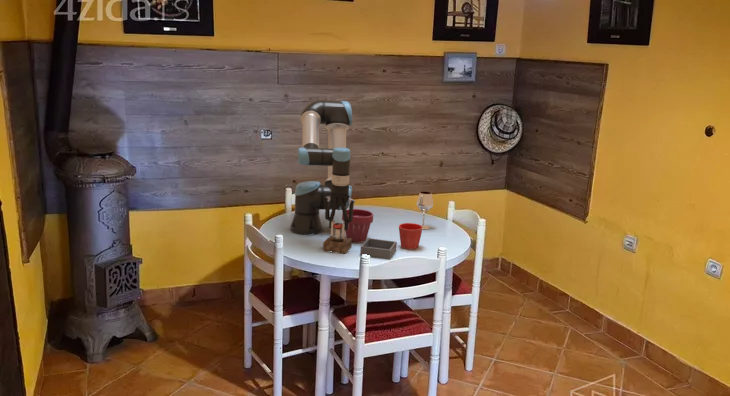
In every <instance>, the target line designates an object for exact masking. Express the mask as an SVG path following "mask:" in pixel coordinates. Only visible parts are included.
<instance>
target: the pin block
mask: <svg viewBox="0 0 730 396" xmlns="http://www.w3.org/2000/svg"><path fill="white" fill-rule="evenodd" d="M334 241H335V235H334V236H333V237H332V236H331V235H329V237H328V238H326V239H325V240H324V241H323V244H322V245H323V247H322V251H323V250H324V251H323V252H327V251H332V252H331V253H335V252H337V253H336V254H342V253H343V255H345V254H347V253H348V250H350V249H351V248H352V245H353V242H352V238H346V237H344V238H341V242H334Z"/></svg>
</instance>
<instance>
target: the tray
mask: <svg viewBox="0 0 730 396" xmlns="http://www.w3.org/2000/svg"><path fill="white" fill-rule="evenodd" d="M397 244H398V243H397V241H394V240H386V239H378V238H371V237H367V238H366V240H365V241H363V243H362V244H361V246H360V253H359V254H360V255H362V254H367V255H370V256H371V257H370V258H375V259H382V260H391V259H392V257H393V255H394V254H395V253H396V251H397Z"/></svg>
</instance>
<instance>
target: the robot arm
mask: <svg viewBox="0 0 730 396" xmlns="http://www.w3.org/2000/svg"><path fill="white" fill-rule="evenodd" d="M300 123H301V125H302V140H301V141H302V143H301V144H302V145H301V146H302V147H299V148H298V151H297V163H298V165H302V166H325V167H327V179H325V181H324V184H321V182H320V181H319V180H317V181H315V180H310V181H308V180H307V181H302V182H299V183H297V184H296V186H295V192H294V196H295V197H294V215H293V218H292V221H291V223H290V231H291V232H292V233H295V234H297V235H316V234H320V233H322V232H323V224H322V220H321V216H320V210H322V211H323V210H324V215H325V216H324V218H325V220H326V221H328V222H329V223H328V224H329V226H328V227H329V229H330V236H332V237H333V236H335V228H334V227H333V226H334V224H335V223H336V220H334V218H335V214H336V211H342V212H343V218H344V221H343V222H342V224H343V225H342V238H346V230H347V229H348V223H349V222H351V221H352V220H353V209H354V206H355V202H356V200H355V198H354V199H353V198H352V192H353V186H352V185H350V176H351V175H350V170H351V169H350V168H351V158H352V157H351V149H349V147H347V131H348V130H349V129H350V126H352V125H353V109H352V105H351V103H350V102H349V101H345V100H329V99H324V100H323V99H318V100H317V99H316V100H313V101H311V102H310V103H308V104H307V105H306V106H305V107H304V108H303V110H302V112H301V113H300ZM320 125H325V129H326V130H327V131H328V141H327V142H328V143H327V144H328V146H327V147H328V148H323V147H322V148H320ZM348 209H349V219H348V215H347V210H348ZM330 211H331V212H330Z"/></svg>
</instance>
